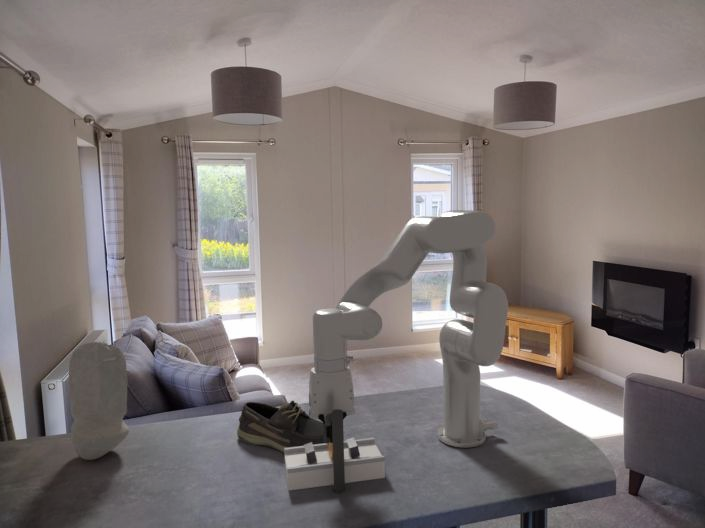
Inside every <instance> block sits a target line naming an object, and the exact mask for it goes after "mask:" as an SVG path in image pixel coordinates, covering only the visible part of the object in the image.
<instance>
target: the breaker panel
mask: <svg viewBox="0 0 705 528" xmlns="http://www.w3.org/2000/svg"><path fill="white" fill-rule="evenodd" d="M355 441H356V443H357V445H358V449H359V453H360V456H357V457H354V458H352V457H351V455H350V453H349V450H348V447H347V443H346V440H344V471H345V484H348V483H355V482H356V483H358V482H363V481H370V480H371V481H372V480H380V479H385V478H386V470H385V469H386V468H385V466H386V463H385V462H386V461H385V456H384V455H382V454H381V452H380V450H379V448H378V446H377V445H376V439H375V437H366V438H359V439H355ZM313 447H314V451H315V455H316V459H317V461H315V462H312V463H308V460H307V456H306V452H305V448H304V446H298V447H289V448H284V452H283V453H284V469H285V477H286V484H287V490H288V491H296V490H303V489H311V488H320V487H327V486H334V471H333V459H331V457H330V454H329V451H328V448H329V443H323V444H315V445H313Z"/></svg>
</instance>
